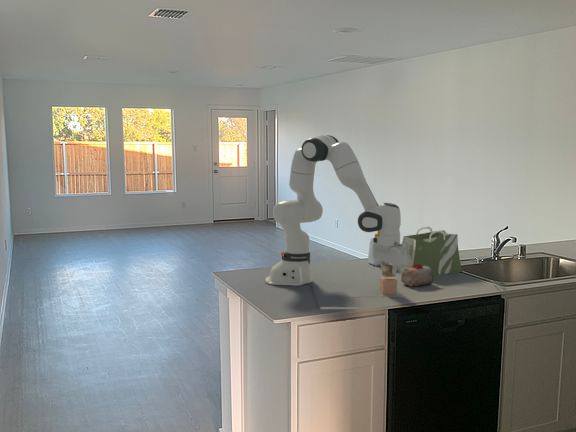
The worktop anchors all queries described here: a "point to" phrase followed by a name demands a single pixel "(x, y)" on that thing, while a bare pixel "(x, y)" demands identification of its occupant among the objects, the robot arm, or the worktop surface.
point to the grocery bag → (432, 251)
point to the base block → (388, 285)
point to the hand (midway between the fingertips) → (388, 272)
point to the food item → (417, 275)
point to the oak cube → (387, 270)
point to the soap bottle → (370, 255)
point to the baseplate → (371, 293)
